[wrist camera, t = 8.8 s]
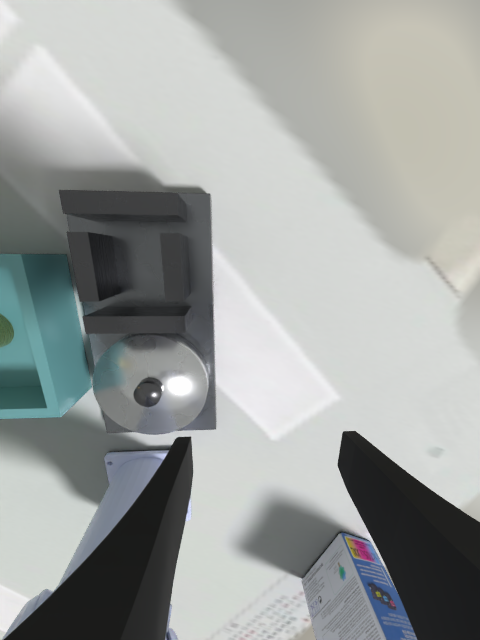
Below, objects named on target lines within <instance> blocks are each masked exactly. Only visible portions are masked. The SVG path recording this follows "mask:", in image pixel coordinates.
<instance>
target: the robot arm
mask: <svg viewBox="0 0 480 640" xmlns="http://www.w3.org/2000/svg"><path fill="white" fill-rule="evenodd" d="M104 461H105V466H106V471H107V476H108V481H109V487H108V489H107V491H106V493H105V495H104V497H103V499H102V501H101V503H100V505H99V507H98V509H97V510H96V512H95V514H94V516H93V518H92V520H91V522H90V524H89V526H88V528H87V530H86V532H85V534H84V536H83V538H82V540H81V542H80V544H79V546H78V548H77V550H76V552H75V553H74V555H73V557H72V559H71V561H70V563H69V565H68V567H67V569H66V571H65V573H64V575H63V577H62V579H61V581H60V583H59V585H58V586H57V588H56V589H55V590H54V591H51V590H48V589H45V590H43V591H42V592H41V593H40V594H39V595H37V596H36V597H34V598H33V599H31V600H30V601H28V602H27V603H26V604H25V606H24V607H23V608H22V610H21V611H20V613H19V614H18V616H17V617H16V619H15V620H14V622H13V623H12V625H11V626H10V628H9V629H8V631H7V632H6V634H5V636H4V637H3V639H2V640H178V638H177V635H176V633H175V631H173V630H172V629H171V628H169V622H170V615H171V609H172V605H171V604H170V601H171V594H172V587H173V580H174V574H175V568H176V563H177V558H178V553H179V549H180V544H181V539H182V534H183V530H184V525H185V521H189V520H190V519H191V501H190V495H191V486H192V478H193V460H192V444H191V437H177V438H176V439H175V441H174V443H173V445H172V446H171V448H170V450H162V451H135V452H110V453H107V454H106V456H105V457H104ZM110 461H111V462H110ZM338 468H339V471H340V473H341V476H342V478H343V481H344V483H345V486H346V488H347V491H348V493H349V495H350V497H351V498H352V500H353V502H354V504H355V506H356V508H357V510H358V512H359V514H360V516H361V518H362V520H363V522H364V524H365V525H366V527H367V529H368V531H369V533H370V535H371V537H372V539H373V541H374V543H375V545H376V546H377V548H378V550H379V552H380V554H381V556H382V559H383V561H384V563H385V565H386V567H387V569H388V571H389V573H390V576H391V578H392V581H393V583H394V585H395V588H396V590H397V592H398V594H399V597H400V599H401V601H402V604H403V606H404V609H405V611H406V613H407V616H408V618H409V621H410V623H411V626H412V628H413V630H414V633H415V635H416V638H417V640H480V522H478V521H477V520H475V519H474V518H472V517H470V516H469V515H467V514H466V513H464V512H463V511H461V510H460V509H458V508H457V507H455V506H454V505H452V504H451V503H449V502H448V501H446V500H445V499H443V498H442V497H440V496H439V495H437V494H436V493H435V492H433V491H432V490H430V489H429V488H428V487H426V486H425V485H424V484H422V483H421V482H419V481H418V480H417V479H415V478H414V477H413V476H411V475H410V474H409V473H407V472H406V471H405V470H403V469H402V468H401V467H400V466H398V465H397V464H396V463H395V462H393V461H392V460H391V459H390V458H388V457H387V456H386V455H385V454H383V453H382V452H381V451H380V450H378V449H377V448H376V447H375V446H373V445H372V444H371V443H370V442H369V441H367V440H366V439H365V438H364V437H362V436H361V435H360V434H358V433H357V432H356V431H344V432H343V434H342V441H341V447H340V453H339V459H338Z"/></svg>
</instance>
